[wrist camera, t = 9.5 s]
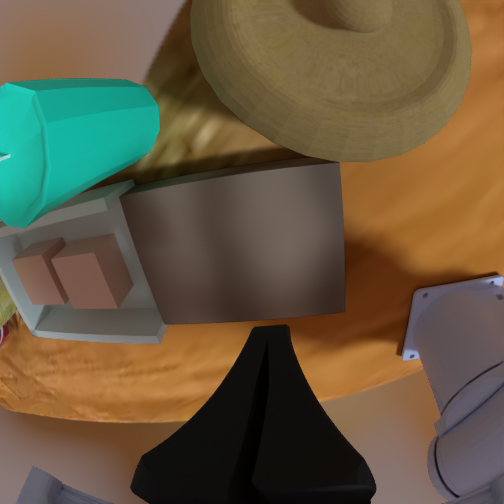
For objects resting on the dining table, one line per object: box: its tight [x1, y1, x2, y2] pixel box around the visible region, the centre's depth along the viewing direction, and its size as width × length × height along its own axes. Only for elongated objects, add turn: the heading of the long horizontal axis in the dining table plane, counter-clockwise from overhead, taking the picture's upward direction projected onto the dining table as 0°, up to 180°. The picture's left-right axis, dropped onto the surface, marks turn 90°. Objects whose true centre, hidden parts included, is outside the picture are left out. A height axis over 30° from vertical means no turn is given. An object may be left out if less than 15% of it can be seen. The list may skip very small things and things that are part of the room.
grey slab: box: [119, 157, 345, 325], centre depth 20 cm, size 13×10×2 cm
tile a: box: [51, 233, 134, 309], centre depth 21 cm, size 4×4×3 cm
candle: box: [0, 78, 160, 228], centre depth 12 cm, size 6×6×12 cm
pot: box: [190, 0, 472, 162], centre depth 10 cm, size 12×12×10 cm
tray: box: [0, 179, 169, 344], centre depth 21 cm, size 15×11×4 cm
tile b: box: [11, 237, 69, 305], centre depth 21 cm, size 4×4×3 cm
